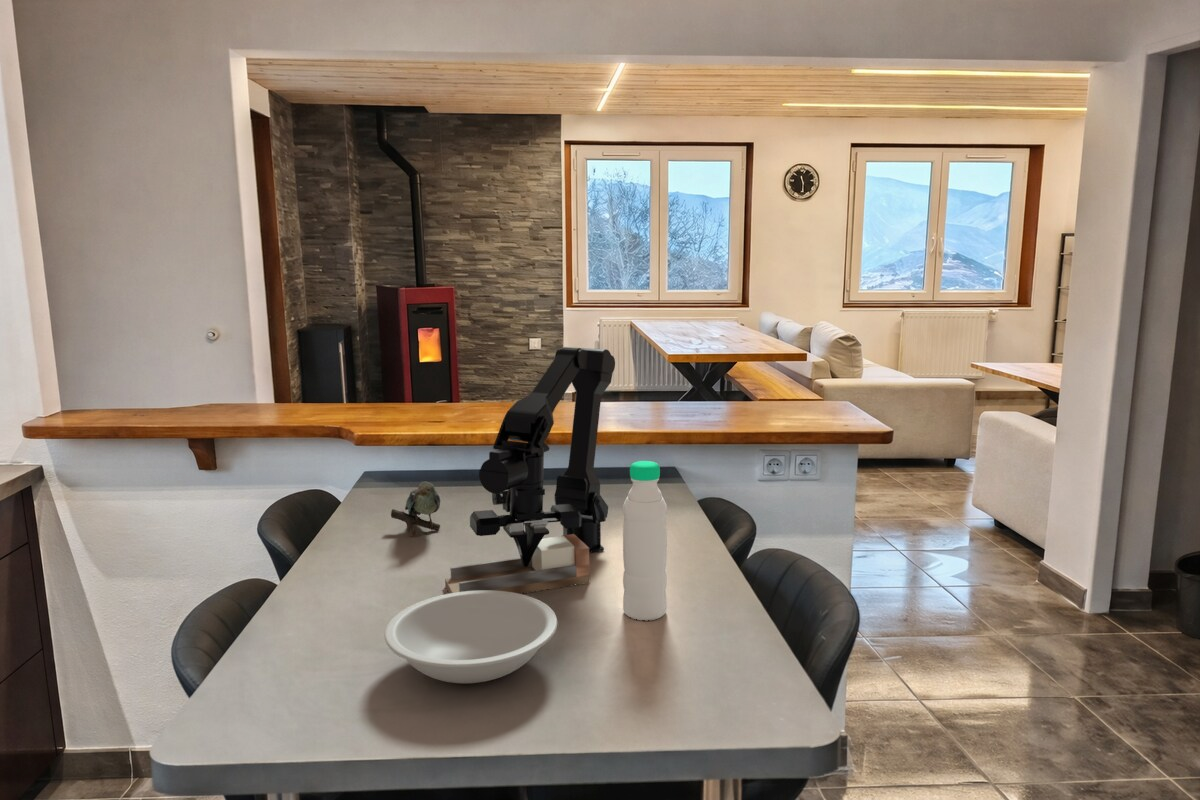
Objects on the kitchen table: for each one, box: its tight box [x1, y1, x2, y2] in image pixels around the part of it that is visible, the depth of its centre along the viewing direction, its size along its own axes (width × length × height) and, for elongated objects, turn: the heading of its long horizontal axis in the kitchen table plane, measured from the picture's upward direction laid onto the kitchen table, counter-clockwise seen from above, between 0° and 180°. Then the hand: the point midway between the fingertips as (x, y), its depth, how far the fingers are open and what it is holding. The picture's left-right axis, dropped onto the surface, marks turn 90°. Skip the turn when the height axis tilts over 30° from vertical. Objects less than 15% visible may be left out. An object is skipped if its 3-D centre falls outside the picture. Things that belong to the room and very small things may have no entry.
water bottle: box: [622, 460, 668, 622], centre depth 136 cm, size 7×7×25 cm
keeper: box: [532, 535, 575, 571], centre depth 152 cm, size 6×6×5 cm
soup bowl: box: [384, 590, 558, 684], centre depth 121 cm, size 24×24×7 cm
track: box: [444, 534, 591, 595], centre depth 150 cm, size 24×8×6 cm, turn 111°
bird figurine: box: [390, 480, 441, 537], centre depth 178 cm, size 13×10×20 cm
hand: (525, 566), depth 150 cm, fingers closed
